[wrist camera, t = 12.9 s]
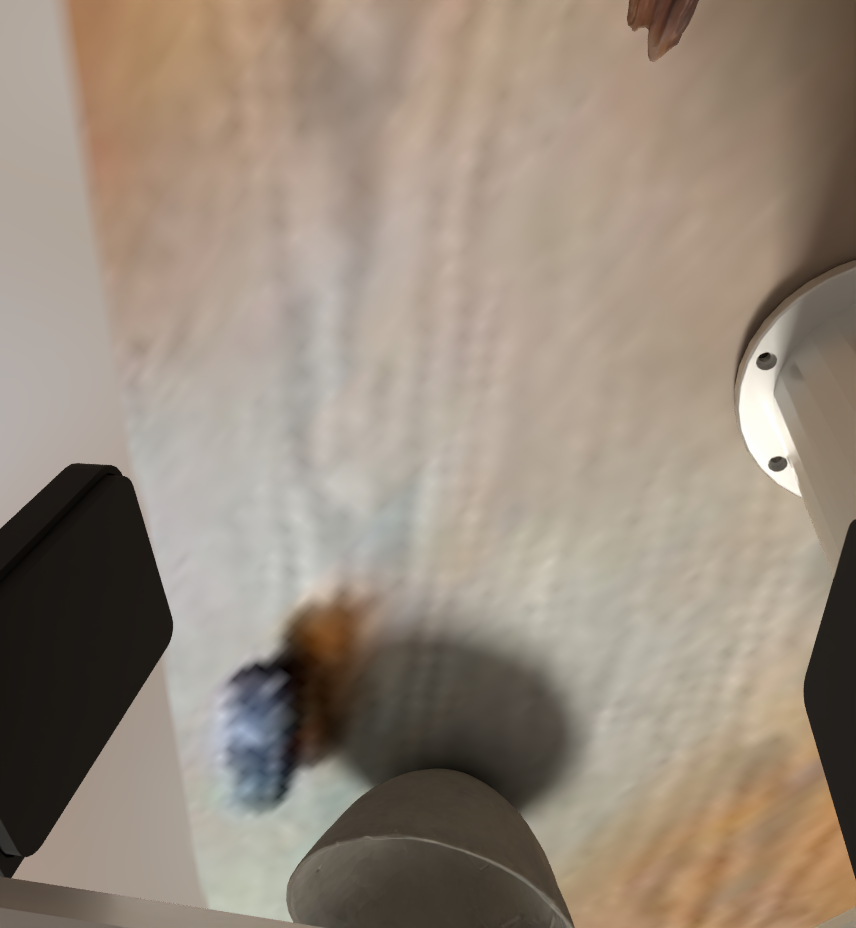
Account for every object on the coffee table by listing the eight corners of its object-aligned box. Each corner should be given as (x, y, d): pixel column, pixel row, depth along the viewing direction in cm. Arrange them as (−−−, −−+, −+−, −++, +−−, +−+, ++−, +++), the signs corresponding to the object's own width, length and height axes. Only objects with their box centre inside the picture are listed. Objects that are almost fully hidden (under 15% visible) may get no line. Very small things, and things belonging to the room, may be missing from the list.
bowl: (532, 899, 63) (522, 1040, 54) (311, 823, 63) (266, 952, 54) (624, 762, 52) (628, 910, 44) (358, 673, 53) (312, 803, 44)
